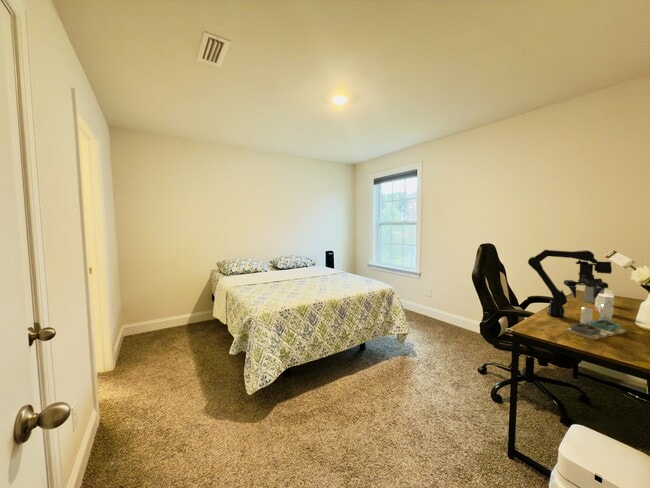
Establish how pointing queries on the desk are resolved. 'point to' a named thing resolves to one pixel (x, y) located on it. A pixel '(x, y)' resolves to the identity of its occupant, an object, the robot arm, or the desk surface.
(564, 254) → the robot arm
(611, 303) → the ink cartridge box
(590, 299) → the skincare box
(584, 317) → the block
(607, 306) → the billet
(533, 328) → the desk surface
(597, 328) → the pallet
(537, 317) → the desk surface
